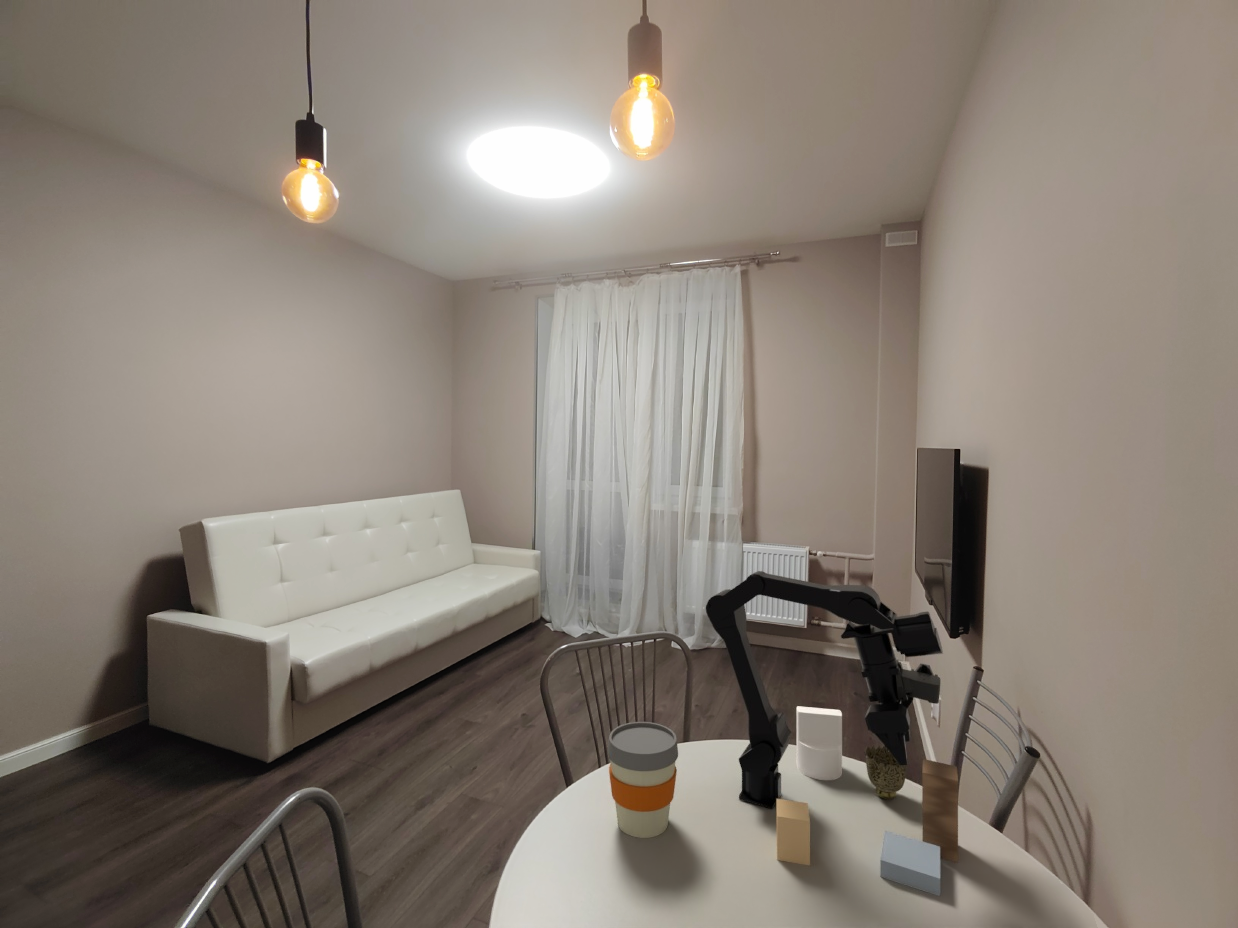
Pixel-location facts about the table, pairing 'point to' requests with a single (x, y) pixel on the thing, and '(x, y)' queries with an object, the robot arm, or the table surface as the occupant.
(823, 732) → the cylinder with rectangular tab
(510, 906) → the table surface
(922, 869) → the slate block
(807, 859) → the ochre block
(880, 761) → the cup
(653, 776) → the reusable coffee cup
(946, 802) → the walnut pillar
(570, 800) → the table surface
